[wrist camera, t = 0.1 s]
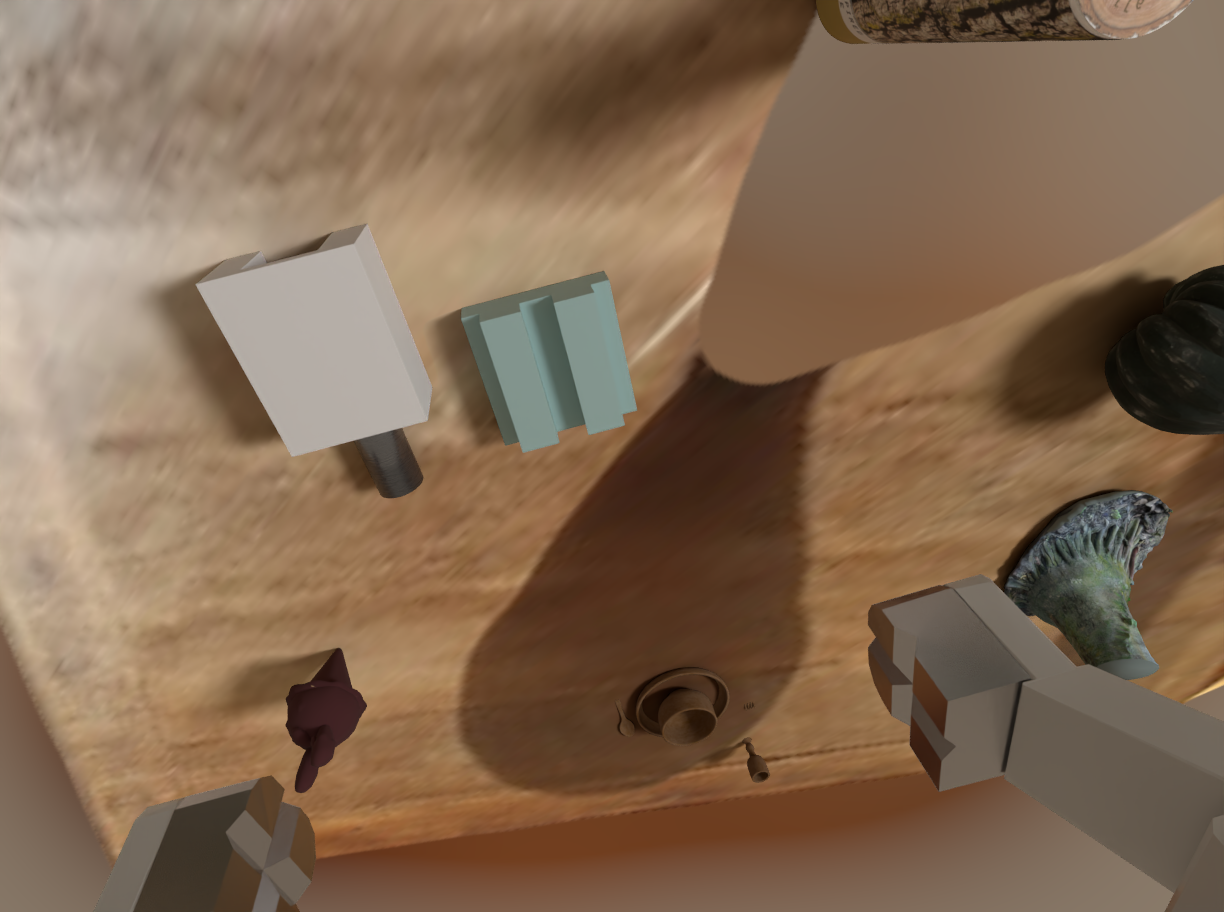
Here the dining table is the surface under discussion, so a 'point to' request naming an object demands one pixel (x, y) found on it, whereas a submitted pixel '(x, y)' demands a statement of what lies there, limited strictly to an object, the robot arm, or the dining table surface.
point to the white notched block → (322, 341)
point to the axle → (390, 463)
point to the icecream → (322, 716)
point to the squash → (1176, 360)
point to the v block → (552, 360)
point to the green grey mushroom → (1093, 577)
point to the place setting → (689, 717)
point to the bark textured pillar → (993, 20)
